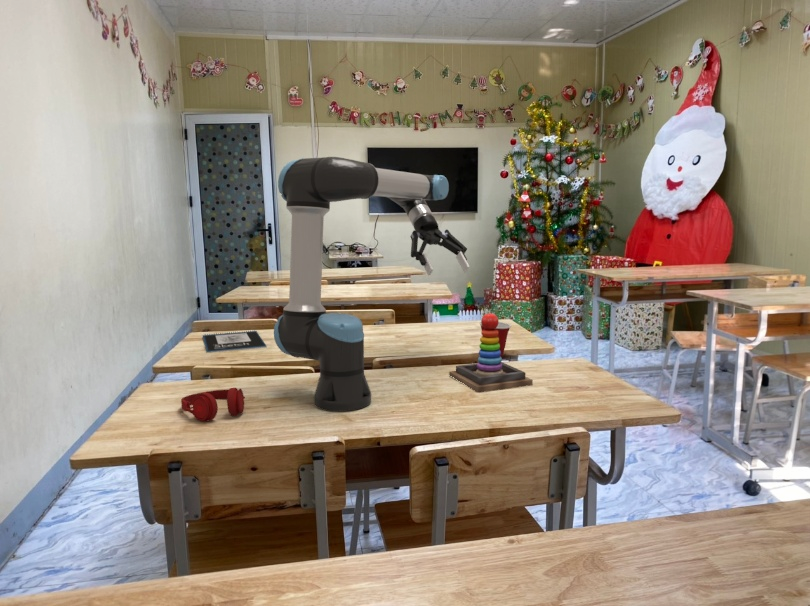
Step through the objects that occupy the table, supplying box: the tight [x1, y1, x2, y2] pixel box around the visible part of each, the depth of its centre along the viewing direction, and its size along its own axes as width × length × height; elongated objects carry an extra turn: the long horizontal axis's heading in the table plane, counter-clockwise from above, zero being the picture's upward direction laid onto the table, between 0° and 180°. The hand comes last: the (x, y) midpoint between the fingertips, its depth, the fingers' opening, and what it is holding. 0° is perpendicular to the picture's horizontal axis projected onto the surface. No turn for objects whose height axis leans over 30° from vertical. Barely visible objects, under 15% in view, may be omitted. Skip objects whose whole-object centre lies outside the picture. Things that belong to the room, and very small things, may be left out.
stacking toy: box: [476, 312, 503, 376], centre depth 175 cm, size 8×8×19 cm
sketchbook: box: [202, 329, 267, 354], centre depth 233 cm, size 22×30×2 cm
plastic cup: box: [479, 321, 512, 359], centre depth 204 cm, size 11×11×12 cm
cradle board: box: [448, 361, 534, 393], centre depth 177 cm, size 18×18×4 cm
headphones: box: [180, 387, 246, 422], centre depth 153 cm, size 15×7×20 cm
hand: (449, 271), depth 184 cm, fingers open, 13 cm apart
